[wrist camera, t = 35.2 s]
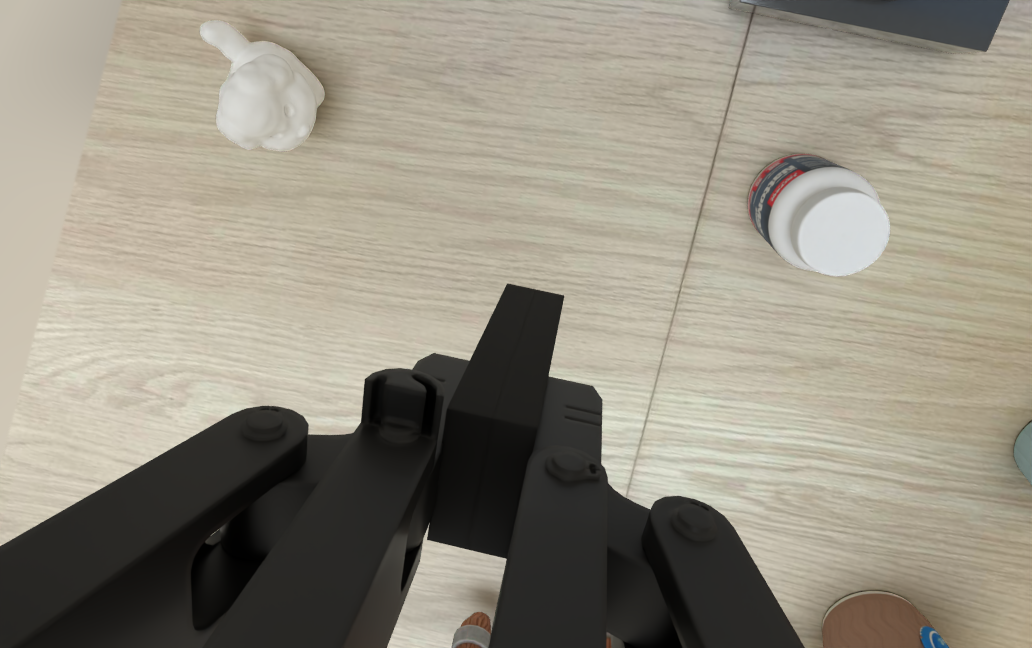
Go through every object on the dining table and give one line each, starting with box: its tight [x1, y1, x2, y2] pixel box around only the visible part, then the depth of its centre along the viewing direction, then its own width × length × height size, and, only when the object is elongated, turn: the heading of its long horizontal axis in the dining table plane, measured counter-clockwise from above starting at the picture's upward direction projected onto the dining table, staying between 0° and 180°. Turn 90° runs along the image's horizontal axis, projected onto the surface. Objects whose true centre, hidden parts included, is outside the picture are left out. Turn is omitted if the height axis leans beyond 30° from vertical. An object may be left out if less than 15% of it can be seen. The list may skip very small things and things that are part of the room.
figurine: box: [200, 20, 325, 152], centre depth 35 cm, size 5×8×8 cm
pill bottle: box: [748, 154, 890, 276], centre depth 33 cm, size 5×5×9 cm
